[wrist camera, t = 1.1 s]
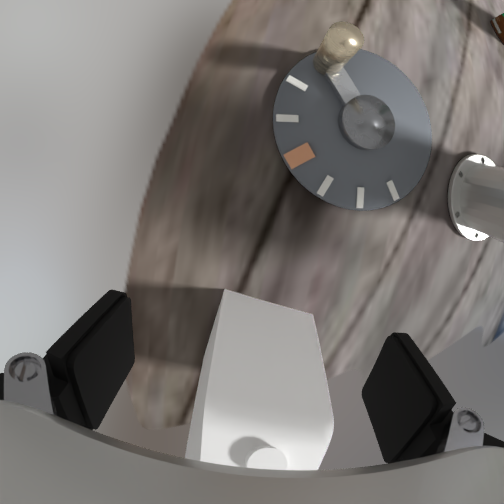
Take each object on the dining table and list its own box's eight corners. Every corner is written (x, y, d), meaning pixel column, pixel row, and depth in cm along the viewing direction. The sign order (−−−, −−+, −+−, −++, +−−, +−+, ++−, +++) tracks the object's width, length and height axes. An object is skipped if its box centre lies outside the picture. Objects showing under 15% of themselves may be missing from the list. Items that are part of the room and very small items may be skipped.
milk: (203, 356, 39) (161, 523, 14) (224, 288, 35) (174, 485, 10) (282, 376, 39) (294, 539, 15) (313, 314, 36) (367, 499, 11)
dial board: (377, 34, 25) (381, 30, 23) (447, 168, 30) (452, 169, 28) (240, 90, 28) (239, 86, 27) (325, 238, 33) (327, 241, 32)
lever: (395, 137, 27) (432, 132, 20) (354, 158, 28) (384, 157, 21) (340, 44, 24) (362, 15, 17) (296, 61, 25) (308, 31, 18)
